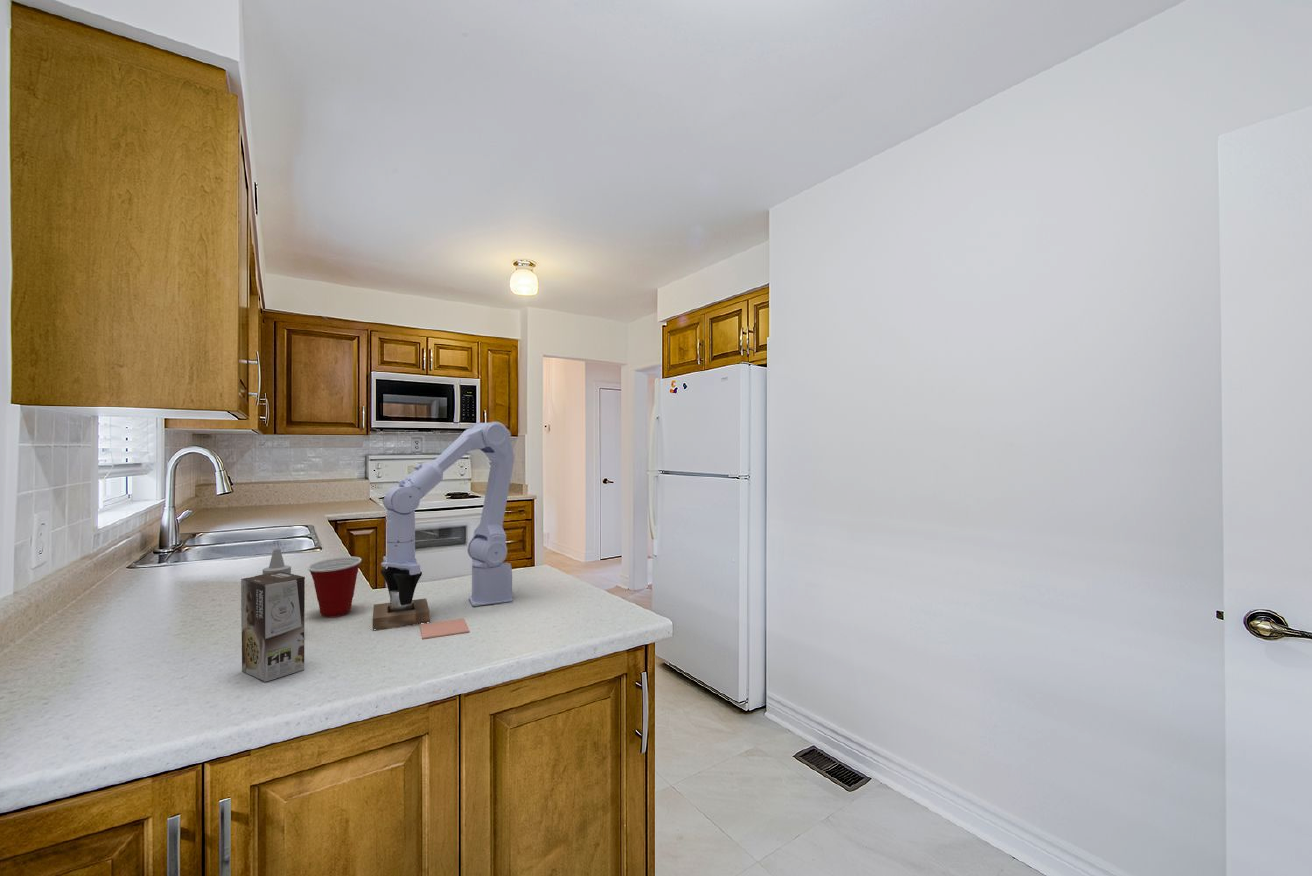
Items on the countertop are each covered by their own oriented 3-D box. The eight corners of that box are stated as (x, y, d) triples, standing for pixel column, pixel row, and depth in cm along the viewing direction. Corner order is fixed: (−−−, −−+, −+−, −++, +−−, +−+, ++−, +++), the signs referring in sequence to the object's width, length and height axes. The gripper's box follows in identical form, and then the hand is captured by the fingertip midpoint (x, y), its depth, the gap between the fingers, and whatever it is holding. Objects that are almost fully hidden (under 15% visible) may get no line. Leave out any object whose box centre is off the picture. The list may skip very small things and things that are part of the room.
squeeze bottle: (276, 649, 105) (276, 554, 105) (240, 646, 106) (241, 552, 107) (310, 634, 113) (310, 546, 113) (277, 631, 114) (277, 545, 114)
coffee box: (306, 669, 96) (306, 576, 96) (264, 683, 90) (264, 584, 90) (281, 658, 100) (281, 569, 100) (239, 671, 95) (239, 577, 95)
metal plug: (406, 613, 125) (406, 586, 125) (415, 617, 122) (415, 589, 122) (386, 617, 122) (386, 589, 122) (395, 622, 119) (395, 593, 119)
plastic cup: (295, 619, 123) (295, 565, 123) (336, 605, 133) (336, 555, 133) (333, 623, 119) (333, 568, 119) (372, 609, 130) (372, 557, 130)
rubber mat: (464, 619, 122) (464, 618, 122) (469, 632, 114) (469, 630, 114) (419, 625, 118) (419, 624, 118) (422, 639, 110) (422, 637, 110)
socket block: (426, 609, 130) (426, 598, 130) (429, 622, 120) (429, 611, 120) (373, 615, 125) (373, 604, 125) (372, 630, 115) (372, 618, 115)
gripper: (369, 539, 124) (369, 599, 124) (396, 547, 114) (396, 613, 114) (400, 535, 129) (400, 593, 129) (429, 542, 120) (429, 605, 120)
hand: (401, 602), depth 122 cm, fingers closed on metal plug, 4 cm apart
